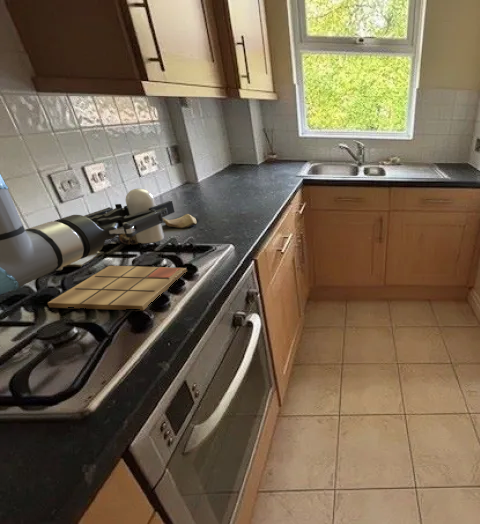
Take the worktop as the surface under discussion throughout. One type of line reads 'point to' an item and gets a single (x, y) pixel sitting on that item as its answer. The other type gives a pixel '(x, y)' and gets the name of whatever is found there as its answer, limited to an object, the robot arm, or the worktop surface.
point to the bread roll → (128, 239)
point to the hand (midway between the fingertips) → (160, 205)
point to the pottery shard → (181, 221)
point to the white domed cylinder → (139, 203)
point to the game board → (119, 288)
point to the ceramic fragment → (84, 260)
